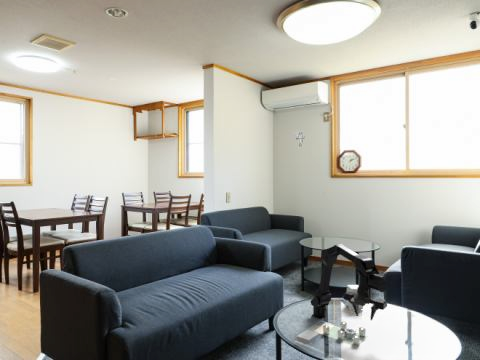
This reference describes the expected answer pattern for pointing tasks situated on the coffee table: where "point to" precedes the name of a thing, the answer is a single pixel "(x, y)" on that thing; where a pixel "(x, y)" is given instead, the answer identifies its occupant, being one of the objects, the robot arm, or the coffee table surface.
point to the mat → (336, 333)
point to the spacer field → (341, 333)
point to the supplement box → (354, 289)
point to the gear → (349, 333)
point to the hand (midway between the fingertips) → (364, 317)
